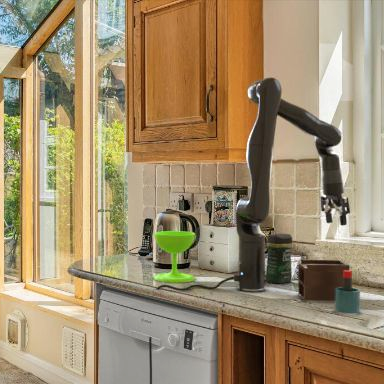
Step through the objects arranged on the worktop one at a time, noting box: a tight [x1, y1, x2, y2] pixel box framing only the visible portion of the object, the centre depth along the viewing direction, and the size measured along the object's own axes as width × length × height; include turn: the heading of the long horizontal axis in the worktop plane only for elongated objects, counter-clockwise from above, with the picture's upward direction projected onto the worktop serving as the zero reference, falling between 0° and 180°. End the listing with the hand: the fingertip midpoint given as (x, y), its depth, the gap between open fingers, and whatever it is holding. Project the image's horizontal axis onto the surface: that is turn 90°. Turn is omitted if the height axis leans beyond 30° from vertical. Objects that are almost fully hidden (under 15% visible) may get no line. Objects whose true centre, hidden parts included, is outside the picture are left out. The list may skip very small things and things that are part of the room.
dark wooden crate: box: [297, 259, 350, 302], centre depth 196 cm, size 14×11×12 cm
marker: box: [343, 269, 353, 292], centre depth 177 cm, size 2×2×12 cm
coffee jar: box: [265, 232, 293, 284], centre depth 226 cm, size 10×8×19 cm
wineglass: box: [153, 230, 196, 284], centre depth 232 cm, size 16×16×18 cm
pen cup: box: [334, 287, 361, 315], centre depth 177 cm, size 7×7×7 cm
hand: (336, 224), depth 223 cm, fingers open, 8 cm apart
